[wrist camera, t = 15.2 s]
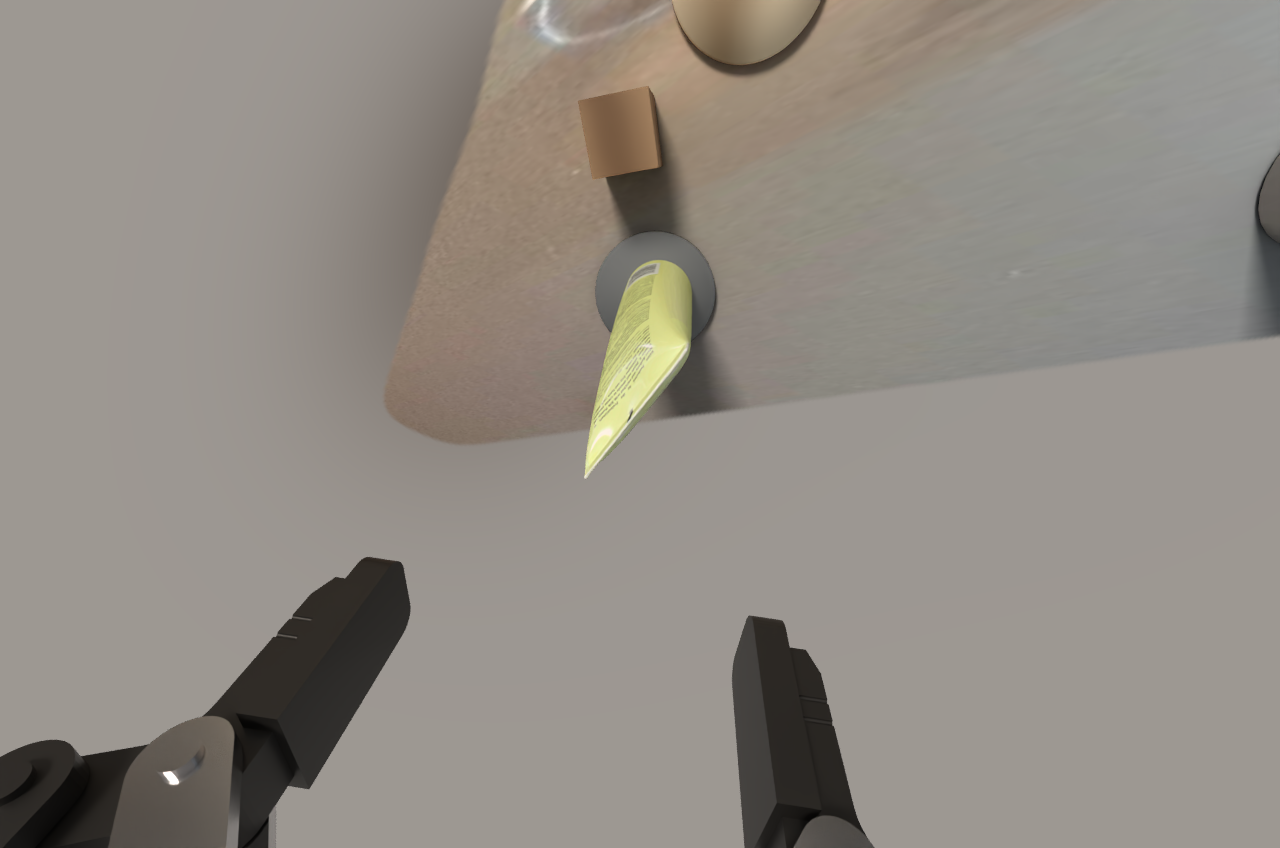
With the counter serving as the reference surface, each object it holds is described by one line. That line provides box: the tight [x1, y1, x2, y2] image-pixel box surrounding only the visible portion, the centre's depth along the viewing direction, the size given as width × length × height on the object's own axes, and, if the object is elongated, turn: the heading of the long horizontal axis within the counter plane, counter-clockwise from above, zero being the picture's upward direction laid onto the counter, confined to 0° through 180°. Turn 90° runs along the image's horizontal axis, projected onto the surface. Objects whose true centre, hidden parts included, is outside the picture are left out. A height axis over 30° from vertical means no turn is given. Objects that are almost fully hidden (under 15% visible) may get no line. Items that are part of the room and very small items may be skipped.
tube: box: [584, 260, 692, 479], centre depth 28 cm, size 6×5×20 cm
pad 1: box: [595, 231, 715, 341], centre depth 37 cm, size 9×9×1 cm
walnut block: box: [578, 86, 663, 179], centre depth 30 cm, size 4×4×5 cm
